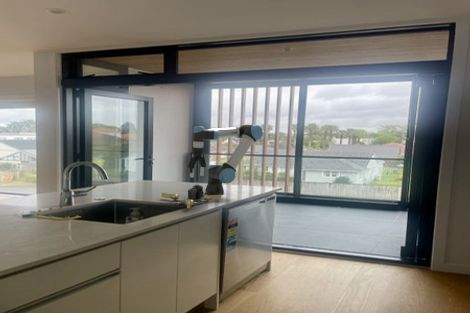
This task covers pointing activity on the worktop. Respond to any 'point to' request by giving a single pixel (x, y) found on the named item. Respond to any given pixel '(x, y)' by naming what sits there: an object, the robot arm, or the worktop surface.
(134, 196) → the worktop surface
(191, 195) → the camera
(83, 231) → the worktop surface
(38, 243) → the worktop surface
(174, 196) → the knob lever
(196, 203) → the tribrach
